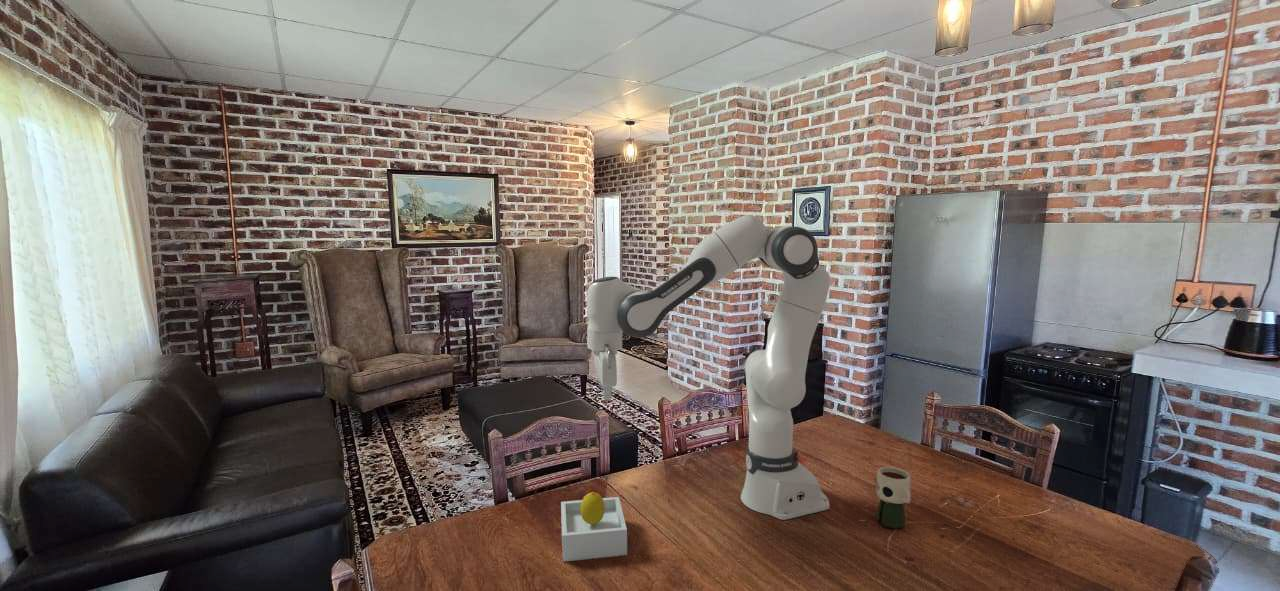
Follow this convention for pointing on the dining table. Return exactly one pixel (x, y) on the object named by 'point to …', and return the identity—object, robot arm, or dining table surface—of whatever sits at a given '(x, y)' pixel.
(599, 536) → the white open box
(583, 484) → the dining table surface
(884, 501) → the character mug
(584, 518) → the lemon
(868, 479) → the dining table surface
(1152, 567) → the dining table surface
